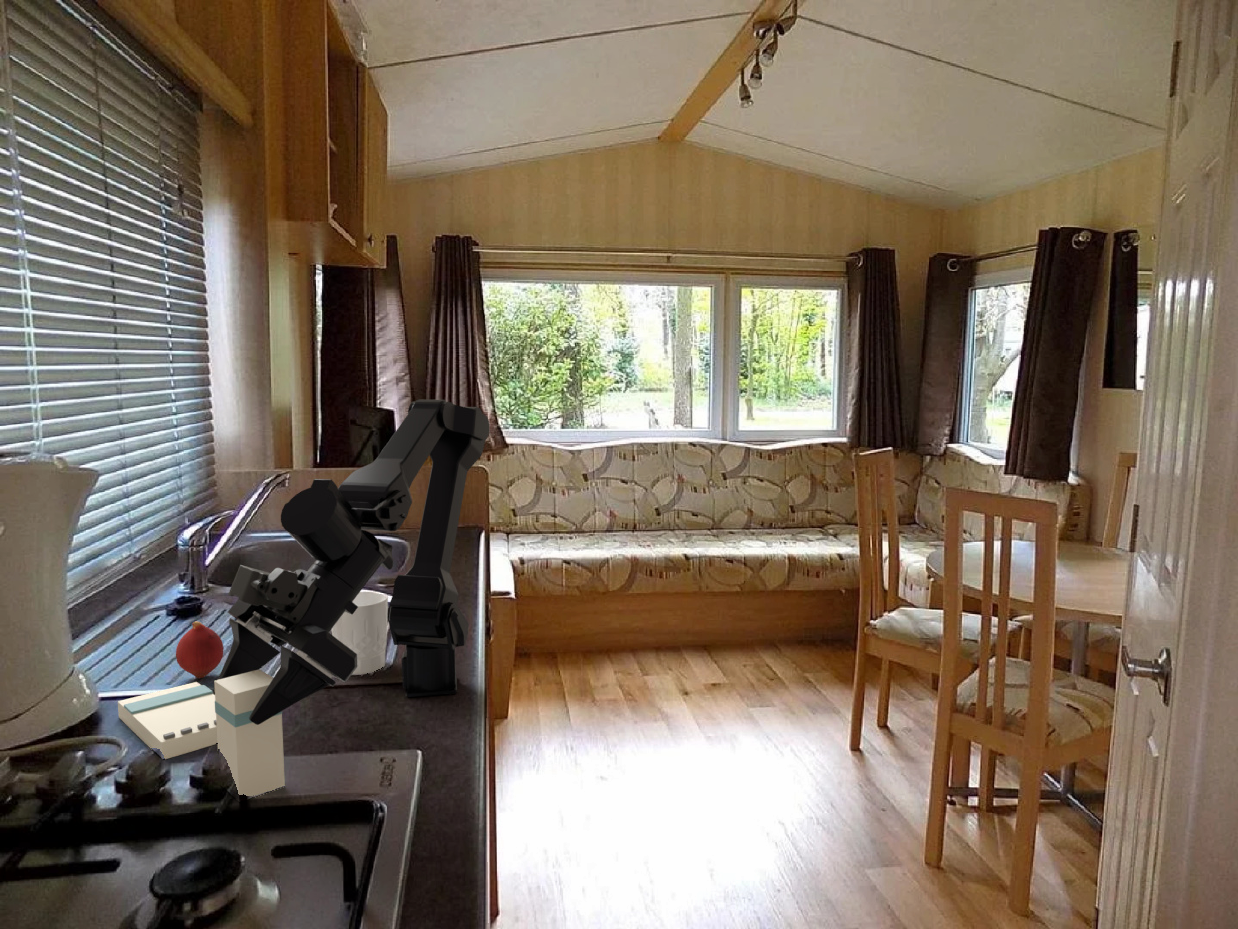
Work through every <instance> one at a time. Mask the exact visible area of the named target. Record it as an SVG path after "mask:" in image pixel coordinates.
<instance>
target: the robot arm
mask: <svg viewBox="0 0 1238 929" xmlns="http://www.w3.org/2000/svg"><path fill="white" fill-rule="evenodd" d="M490 428H491V427H490V420H489V418H488V416H487V415H486V414H485V413H483V411H482V409H481V408H479V407H478V406H463V405H457V404H455V403H453V402H450V401H447V400H446V399H417V400H415V401H412V402H411V403H410V404H409V407H408V410H407V415H406V416H405V417H404V419H403V420H402V422H401V423H400V425H399V426H398V428H397V429H396V430H395V432H394V433H393V435H392V436H391V437H390V439H389V441H388V442H387V443H386V445H385V446H384V447H383V449H382V450H381V452H380V453H379V454H378V456H377V457H376V459H374V460H373V462H371V463H369V464H367V465H364V466H362V467H360V468H357V469H355V470H354V471H352V473H351V474H350V475H349V476H347V478H345V479H344V480H343V481H342V482H341V483H340V485H339V486H337V484H336V483H335V482H334V480H333V479H329V478H328V479H327V478H326V479H325V478H315V479H313V481H312V483H311V486H310V487H308V488H306V489H304V490H301V491H299V492H297V493H296V494H295V495H294V496H293V497H292V498H290V499H289V501H288V502H286V503H285V504H284V505H283V507H282V509H281V512H280V523H281V526H282V527H283V529H284V530H285V531H286V533H288V535H289V536H290V537H291V538H293V539H294V540H295V541H296V543H298V544H299V546H301V548H302V549H304V551H305V552H306V553H308V554H309V556H311V558H312V559H315V561H314V562H313V564H312V565H311V566H310V567H309V569H308V570H304V569H302V568H299V569H296V570H294V571H291V570H286V569H284V568H283V569H282V568H281V567H275V568H274V569H273V571H271V572H268V571H264V570H260V569H257V568H253V567H250V566H246V565H242V564H240V565H239V567H238V570H237V572H236V574H235V577H234V580H233V581H232V583H231V584H232V585H231V586H230V589H229V592H228V596H230V597H237V598H238V599H237V600H236V601H235V602H234V603H233V605H232V606H231V607H230V608H229V610H228V611H227V613H228V614H229V615H231V616H232V617H233V618H235V619H236V620H235V619H233V618H232V617H230V618H229V620H228V624H229V625H230V626H231V630H232V632H231V633H232V638H233V639H232V640H233V641H232V644H231V647H230V649H229V653H228V655H227V657H226V660H225V662H224V664H223V666H222V669H221V671H220V674H219V676H218V678H217V680H219V679H223V678H227V677H231V676H235V675H239V674H243V673H247V672H251V671H255V670H259V669H260V670H261V669H262V668H263V667H264V666H266V665H267V664H268V663H269V662H271V661H272V660H273V659H274V658H275V657H276V656H278V655H280V667H279V669H278V671H277V672H276V673H275V676H274V677H273V680H272V681H271V683H270V684H269V686H268V687H267V689H266V691H265V692H264V694H263V695H262V697H261V698H260V700H259V701H258V703H257V705H256V706H255V708H254V710H253V712H252V714H251V715H250V717H249V720H250V721H251V722H253V723H254V724H256V725H259V724H261V723H263V722H264V721H266V720H268V719H269V718H271V717H273V716H274V715H276V714H278V713H279V712H281V711H282V712H283V711H284V710H286V709H288V708H289V707H292V706H293V705H295V704H296V703H298V702H300V701H302V700H304V699H305V698H308V697H309V696H312V695H313V694H315V693H317V692H319V691H321V690H322V689H325V688H327V687H329V686H331V687H334V686H335V685H336V684H337V682H336V681H335V680H334V679H333V677H334V678H336V679H338V680H340V681H342V682H344V683H347V681H349V678H350V677H351V676H353V675H352V673H353V672H354V671H355V669H356V668H357V654H356V653H355V652H354V651H352V650H351V649H350V648H348V647H347V646H346V645H344V644H343V643H342V642H340V641H339V640H338V639H336V638H335V637H334V636H333V635H332V633H330V632H331V631H332V628H333V626H334V625H335V624H336V623H337V621H338V620H339V619H340V617H341V616H342V615H343V613H344V612H347V613H349V614H352V615H353V613H354V612H355V611H356V609H357V608H358V606H357V605H355V604H354V603H353V600H354V599H355V598H356V596H357V595H358V594H359V592H362V590H363V588H364V587H366V584H368V582H369V581H370V579H371V578H372V577H373V576H374V574H375V573H376V572H377V571H378V569H379V568H380V567H383V568H384V569H387V570H392V569H393V567H394V558H393V557H394V556H393V545H392V544H390V543H388V542H387V541H384V540H383V539H381V538H380V539H379V538H378V539H377V537H376V536H375V535H374V534H373V533H372V532H370V531H378V532H396V531H398V530H399V529H400V528H401V527H402V525H403V524H404V521H405V520H406V519H407V517H408V514H409V511H410V509H411V506H412V504H413V499H412V495H411V490H410V489H411V487H412V486H411V485H412V484H413V481H414V480H415V478H416V477H417V475H418V473H419V472H420V470H421V469H422V467H423V465H424V464H425V462H426V461H427V459H428V457H430V458H429V459H431V463H432V464H431V469H430V475H429V479H428V480H429V481H428V486H427V491H426V497H425V501H424V505H423V506H424V507H423V512H422V517H421V523H420V528H419V533H418V539H417V544H416V548H415V549H416V550H415V552H414V554H415V555H414V559H413V560H414V561H413V564H412V566H411V567H410V568H409V570H407V572H406V573H405V574H398V575H397V576H396V578H395V580H394V582H393V591H392V595H391V600H390V602H389V605H388V610H387V623H388V625H389V629H390V633H391V637H392V642H393V646H405V648H406V649H405V650H404V651H403V652H402V656H401V677H402V678H401V680H402V681H401V682H402V688H403V689H405V697H406V698H411V697H415V698H416V697H423V696H424V697H426V696H438V695H439V696H440V695H441V696H442V695H451V694H457V693H458V684H457V683H458V682H457V681H458V680H457V671H456V648H457V647H459V648H460V647H464V646H466V645H467V639H468V634H469V622H468V620H467V618H466V617H465V616H464V613H463V611H461V609H460V607H459V606H458V603H459V602H458V601H459V592H458V590H457V588H456V585H455V583H454V581H453V580H454V579H453V578H452V575H451V569H452V568H451V567H452V562H453V555H454V551H455V550H454V549H455V545H456V544H455V543H456V538H457V532H458V526H459V520H460V516H461V509H462V505H463V504H462V503H463V498H464V492H465V488H466V487H465V486H466V480H467V475H468V471H469V470H470V469H471V468H472V467H473V466H474V465H475V464H476V463H477V461H478V460H479V459H480V458H481V457H482V456H483V452H484V448H485V444H486V440H487V439H489V435H490V430H491V429H490ZM271 644H272V645H271ZM286 644H288V645H289V646H291V648H294V649H296V650H297V651H296V652H294V651H293V650H291V649H289V648H287V647H285V646H284V645H286ZM273 645H274V646H276V647H279V648H280V650H278V649H276V647H274V646H273ZM212 692H213V694H214V695H215V686H214V687H213V690H212Z"/></svg>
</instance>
